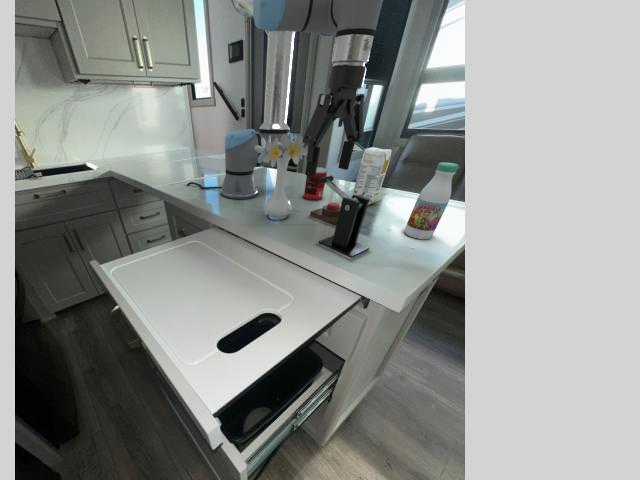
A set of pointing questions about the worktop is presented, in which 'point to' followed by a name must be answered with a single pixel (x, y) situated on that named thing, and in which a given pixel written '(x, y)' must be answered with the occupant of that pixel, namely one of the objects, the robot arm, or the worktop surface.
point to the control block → (326, 215)
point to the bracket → (348, 228)
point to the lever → (336, 188)
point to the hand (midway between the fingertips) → (327, 172)
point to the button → (333, 206)
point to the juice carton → (372, 173)
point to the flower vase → (280, 170)
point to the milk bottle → (431, 203)
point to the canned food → (315, 185)
